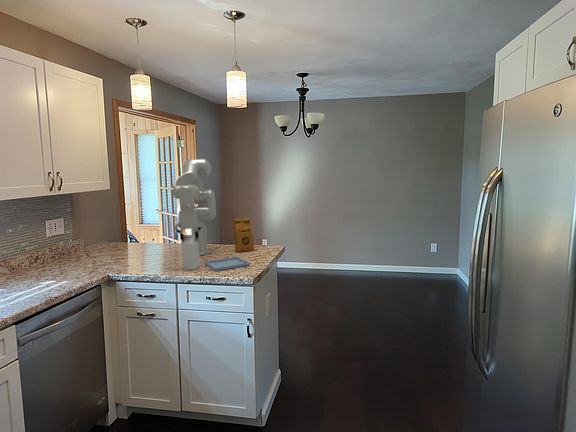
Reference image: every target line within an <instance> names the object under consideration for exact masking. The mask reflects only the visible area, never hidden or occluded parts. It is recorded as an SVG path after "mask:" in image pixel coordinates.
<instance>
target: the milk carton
mask: <svg viewBox="0 0 576 432" xmlns="http://www.w3.org/2000/svg"><path fill="white" fill-rule="evenodd" d="M183 235H184V241H182V240H181V241H180V251H181V261H182V270H186V271H187V270H190V271H194V270H197V269H198V268H200V267H201V258H200V255H199V247H198V240H197V239H196V238H195V235H192V234H183Z"/></svg>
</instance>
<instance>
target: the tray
mask: <svg viewBox="0 0 576 432" xmlns="http://www.w3.org/2000/svg"><path fill="white" fill-rule="evenodd" d="M204 265H205V266H207V267H208V268H210V269H211V270H212V271H214V272H221V271H227V270H234V269H238V268H240V269H241V268H245V267H250V266H251V263H250V262H249V261H247V260H245V259H243V258H241V257H239V256H232V257H225V258H219V259H214V260H213V259H211V260H206V261H205V260H204Z"/></svg>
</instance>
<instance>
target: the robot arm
mask: <svg viewBox="0 0 576 432" xmlns="http://www.w3.org/2000/svg"><path fill="white" fill-rule="evenodd" d="M182 169H183V173H182V174H180V175H178V177H177V178H175V180H174V181H173V183H172V185H173V186H172V192H171V193H172V197H173V198H175V200H176V199H177V200H179V211H178V219H177V220H178V221H177V223H176V225H175V226H173V229H174V230H175V231H176V232H177V233H178V234H179V240H181V241H184V235H185V234H184V230H188V229H189V230H191V235H195V238H196V239H197V240H198V247H199V256H205V255H209V254H210V253H211V251H210V249H209V248H208V238H207V237H208V236H207V227H206V225H205V223H204V222H203V221H211V220H215V218H217V217H216V216H217V211H216V210H217V209H216V195H215V192H214V190H213V189H211V188H205V189H204V187H203V186H204V185H203V181H202V179H201V178H200V177H199V176H209V175H210V174H211V171H212V167H211V163H210V162H209V161H208V160H207V159H206V158H190V159H187V160H186V161H185V162H184V164H183V166H182ZM205 204H206V205H205ZM178 228H179V229H178Z"/></svg>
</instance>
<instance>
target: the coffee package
mask: <svg viewBox="0 0 576 432" xmlns="http://www.w3.org/2000/svg"><path fill="white" fill-rule="evenodd" d="M233 234H234V235H233V236H234V239H233V240H234V251H236V252H241V253H242V252H249V251H250V252H251V251H254V248H255V245H254V236H253V231H252V225H251V221H250V217H245V218H234V219H233Z"/></svg>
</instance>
